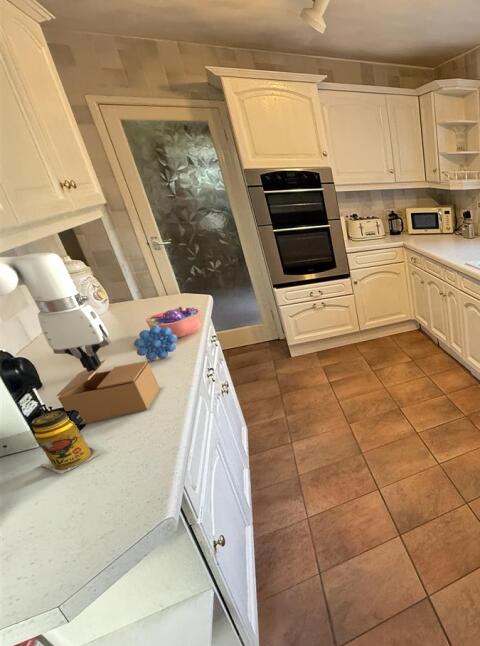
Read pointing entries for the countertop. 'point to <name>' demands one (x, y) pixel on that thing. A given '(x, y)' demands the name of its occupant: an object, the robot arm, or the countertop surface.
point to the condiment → (61, 442)
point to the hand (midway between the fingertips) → (94, 368)
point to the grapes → (155, 342)
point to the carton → (113, 393)
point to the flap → (80, 379)
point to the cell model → (177, 321)
